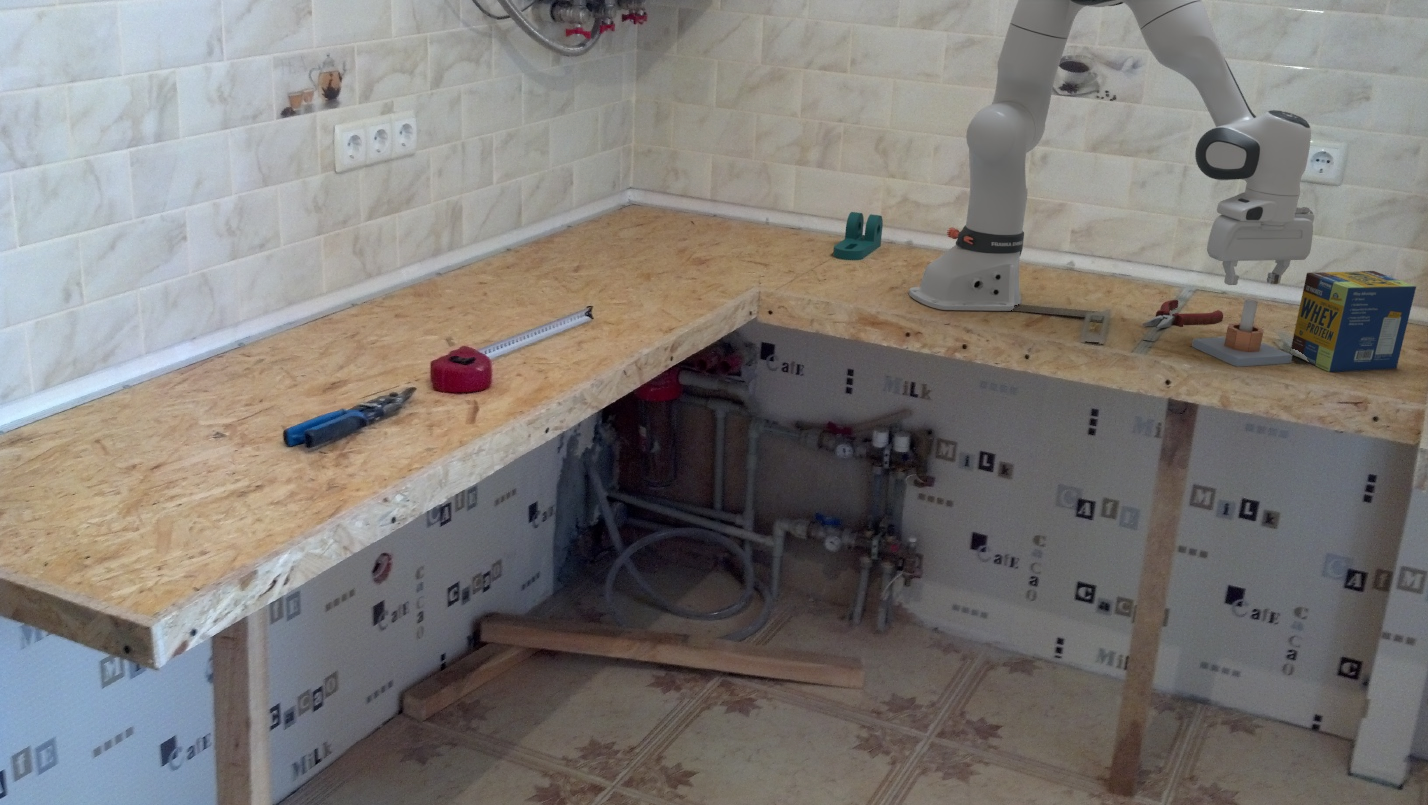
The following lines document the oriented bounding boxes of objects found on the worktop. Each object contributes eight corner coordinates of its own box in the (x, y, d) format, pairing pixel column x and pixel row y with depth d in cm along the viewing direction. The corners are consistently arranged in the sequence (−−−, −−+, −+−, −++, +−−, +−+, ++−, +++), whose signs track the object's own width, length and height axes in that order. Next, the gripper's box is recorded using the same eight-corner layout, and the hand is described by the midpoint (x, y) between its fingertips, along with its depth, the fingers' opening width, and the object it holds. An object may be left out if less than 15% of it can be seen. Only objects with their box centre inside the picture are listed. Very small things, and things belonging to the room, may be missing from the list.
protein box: (1287, 354, 248) (1305, 271, 243) (1356, 351, 253) (1374, 270, 247) (1328, 372, 239) (1347, 287, 233) (1398, 369, 243) (1418, 285, 238)
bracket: (852, 243, 315) (855, 209, 313) (880, 247, 313) (883, 213, 310) (829, 258, 299) (832, 223, 297) (858, 262, 297) (862, 227, 294)
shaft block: (1236, 366, 238) (1247, 311, 235) (1191, 346, 249) (1201, 293, 246) (1290, 363, 243) (1302, 309, 239) (1244, 343, 253) (1254, 291, 250)
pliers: (1121, 325, 262) (1123, 312, 261) (1170, 309, 276) (1173, 297, 275) (1176, 340, 255) (1179, 326, 254) (1224, 323, 268) (1227, 310, 268)
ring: (1240, 352, 242) (1243, 333, 240) (1217, 342, 247) (1221, 324, 246) (1267, 350, 244) (1270, 332, 242) (1244, 341, 249) (1247, 322, 248)
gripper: (1302, 203, 243) (1285, 278, 248) (1210, 203, 236) (1194, 280, 241) (1328, 211, 238) (1310, 287, 242) (1234, 211, 231) (1217, 289, 235)
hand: (1251, 283), depth 242 cm, fingers open, 8 cm apart
